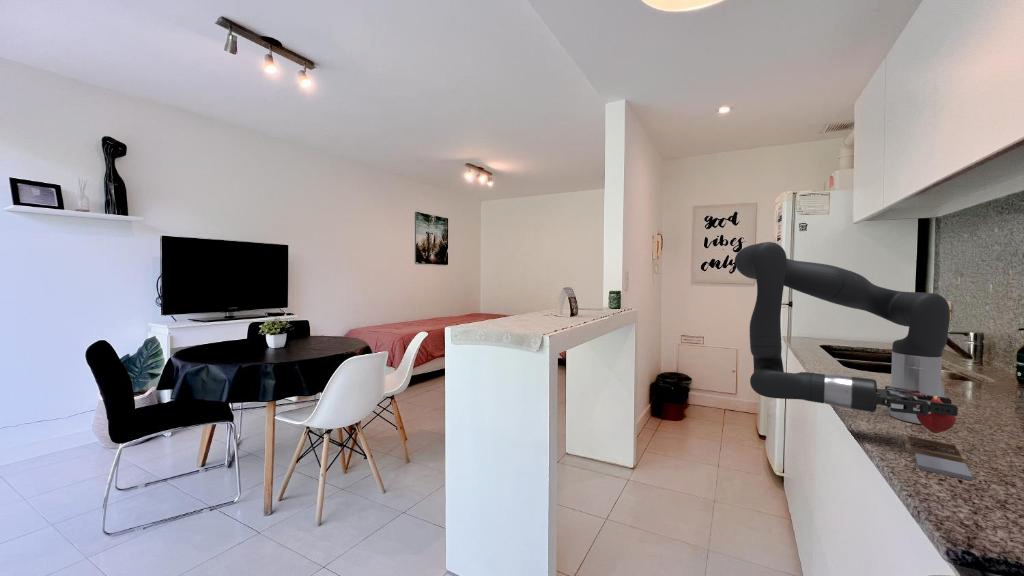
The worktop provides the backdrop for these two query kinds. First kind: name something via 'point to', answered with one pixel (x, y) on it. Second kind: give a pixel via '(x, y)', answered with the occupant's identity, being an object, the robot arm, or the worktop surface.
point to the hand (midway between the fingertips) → (953, 407)
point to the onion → (936, 420)
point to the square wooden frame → (957, 448)
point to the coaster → (943, 466)
